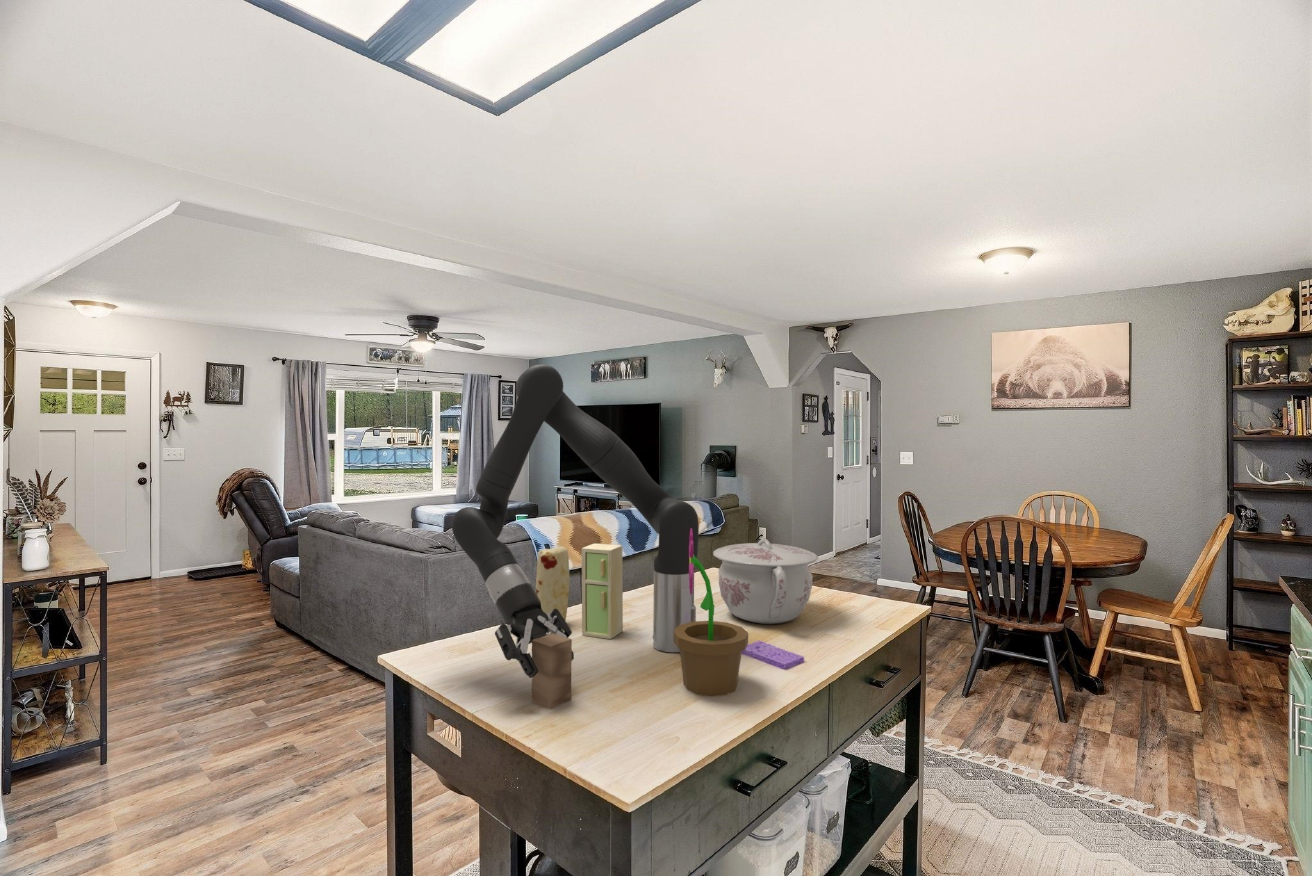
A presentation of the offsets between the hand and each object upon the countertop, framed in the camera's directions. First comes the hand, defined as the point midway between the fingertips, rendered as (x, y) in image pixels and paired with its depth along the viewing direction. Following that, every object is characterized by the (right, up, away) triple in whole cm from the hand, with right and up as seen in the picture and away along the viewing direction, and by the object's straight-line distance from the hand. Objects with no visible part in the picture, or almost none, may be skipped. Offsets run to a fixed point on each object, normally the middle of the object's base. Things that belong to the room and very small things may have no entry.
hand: (553, 667), depth 112 cm
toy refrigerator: (+5, -6, +37) cm, 38 cm away
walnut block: (0, -6, 0) cm, 6 cm away
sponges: (+44, -7, +23) cm, 50 cm away
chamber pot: (+47, -6, +52) cm, 70 cm away
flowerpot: (+29, -6, +8) cm, 31 cm away
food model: (-7, -6, +42) cm, 43 cm away
